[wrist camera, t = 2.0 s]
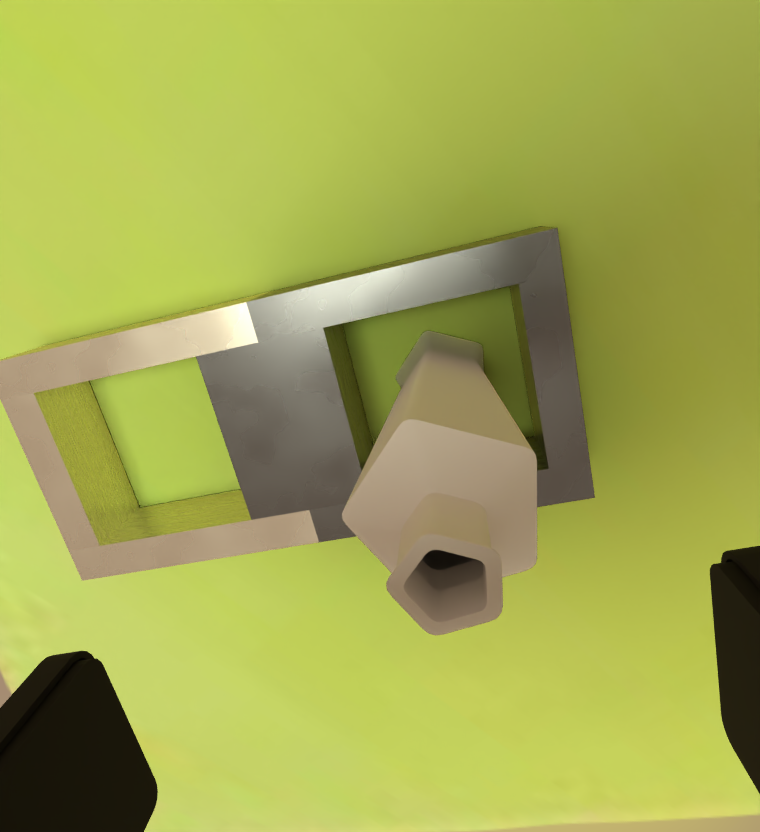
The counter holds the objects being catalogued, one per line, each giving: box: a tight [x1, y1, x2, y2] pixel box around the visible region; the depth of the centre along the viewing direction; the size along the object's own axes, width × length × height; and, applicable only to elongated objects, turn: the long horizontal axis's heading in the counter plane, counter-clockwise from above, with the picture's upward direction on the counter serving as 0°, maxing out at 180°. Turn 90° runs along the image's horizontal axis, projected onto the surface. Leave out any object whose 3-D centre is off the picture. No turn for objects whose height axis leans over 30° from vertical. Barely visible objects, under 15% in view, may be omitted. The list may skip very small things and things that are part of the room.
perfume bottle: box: [342, 331, 537, 635], centre depth 18 cm, size 5×4×15 cm
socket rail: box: [0, 226, 595, 580], centre depth 24 cm, size 22×10×4 cm, turn 103°
